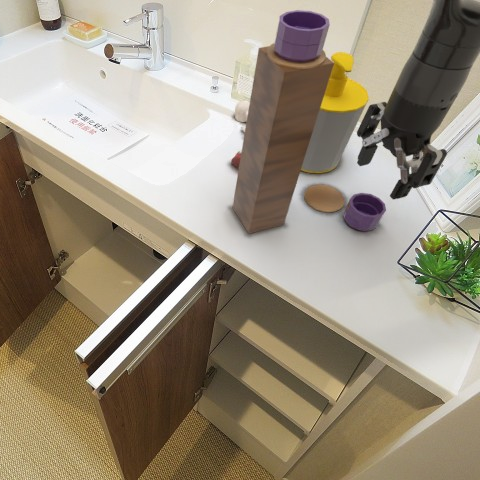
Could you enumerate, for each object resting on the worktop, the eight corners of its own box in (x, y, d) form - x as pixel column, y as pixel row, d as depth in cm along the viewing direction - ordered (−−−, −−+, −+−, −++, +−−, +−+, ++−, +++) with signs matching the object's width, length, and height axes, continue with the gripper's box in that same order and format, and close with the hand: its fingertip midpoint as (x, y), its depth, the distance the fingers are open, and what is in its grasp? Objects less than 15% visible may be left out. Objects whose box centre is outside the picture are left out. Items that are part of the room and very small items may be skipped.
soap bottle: (287, 177, 83) (316, 76, 67) (273, 138, 91) (295, 40, 75) (352, 174, 83) (396, 73, 67) (331, 135, 91) (366, 38, 75)
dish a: (329, 59, 52) (339, 26, 49) (287, 67, 51) (295, 33, 48) (304, 39, 56) (312, 7, 53) (265, 46, 54) (270, 14, 51)
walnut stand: (283, 224, 75) (334, 62, 52) (248, 234, 73) (284, 72, 51) (265, 199, 79) (305, 39, 56) (232, 207, 78) (258, 47, 55)
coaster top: (336, 63, 52) (337, 61, 52) (284, 73, 50) (284, 70, 50) (305, 38, 56) (306, 36, 56) (256, 47, 55) (256, 45, 55)
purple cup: (384, 227, 74) (393, 212, 71) (355, 235, 73) (363, 220, 70) (363, 205, 78) (371, 189, 74) (336, 213, 76) (343, 197, 73)
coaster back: (352, 207, 77) (352, 206, 77) (317, 216, 76) (317, 215, 76) (329, 182, 82) (330, 181, 82) (296, 190, 80) (297, 189, 80)
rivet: (269, 154, 88) (270, 148, 87) (262, 157, 88) (264, 151, 87) (244, 128, 94) (245, 122, 93) (238, 130, 93) (239, 124, 92)
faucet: (248, 130, 101) (244, 89, 96) (293, 149, 86) (292, 103, 81) (233, 135, 100) (229, 94, 95) (277, 156, 86) (274, 109, 80)
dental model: (230, 149, 82) (252, 132, 86) (227, 166, 85) (248, 148, 89) (253, 162, 80) (275, 143, 84) (249, 178, 83) (271, 160, 87)
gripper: (369, 69, 59) (334, 159, 72) (441, 123, 51) (387, 215, 63) (412, 60, 61) (371, 150, 73) (490, 112, 52) (428, 203, 64)
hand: (378, 180), depth 68 cm, fingers open, 8 cm apart
